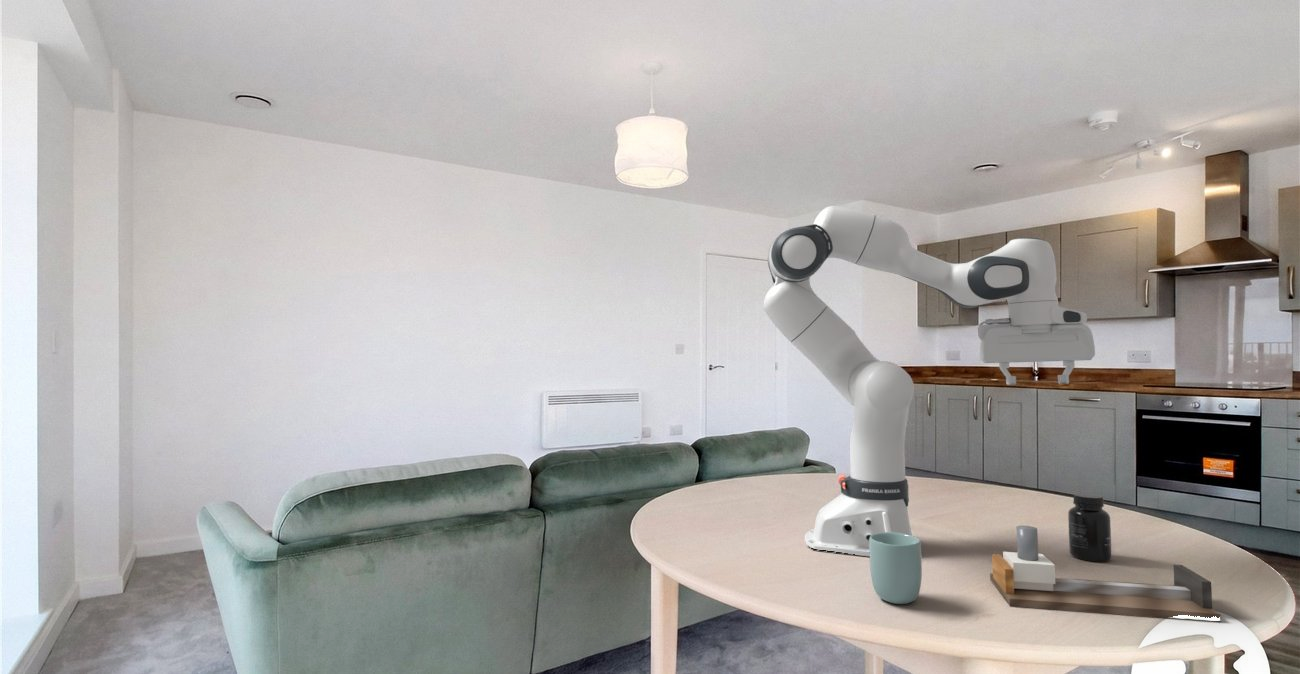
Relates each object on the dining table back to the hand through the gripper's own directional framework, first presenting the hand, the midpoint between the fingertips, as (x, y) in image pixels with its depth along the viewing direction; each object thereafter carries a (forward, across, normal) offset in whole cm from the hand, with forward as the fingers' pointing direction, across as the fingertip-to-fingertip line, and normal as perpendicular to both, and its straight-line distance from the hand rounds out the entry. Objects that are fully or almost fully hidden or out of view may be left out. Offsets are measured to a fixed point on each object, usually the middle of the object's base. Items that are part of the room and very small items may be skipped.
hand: (1037, 384), depth 129 cm
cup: (+33, -31, -35) cm, 57 cm away
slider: (+32, -10, -27) cm, 43 cm away
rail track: (+34, -1, -27) cm, 43 cm away
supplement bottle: (+34, +7, -3) cm, 35 cm away
